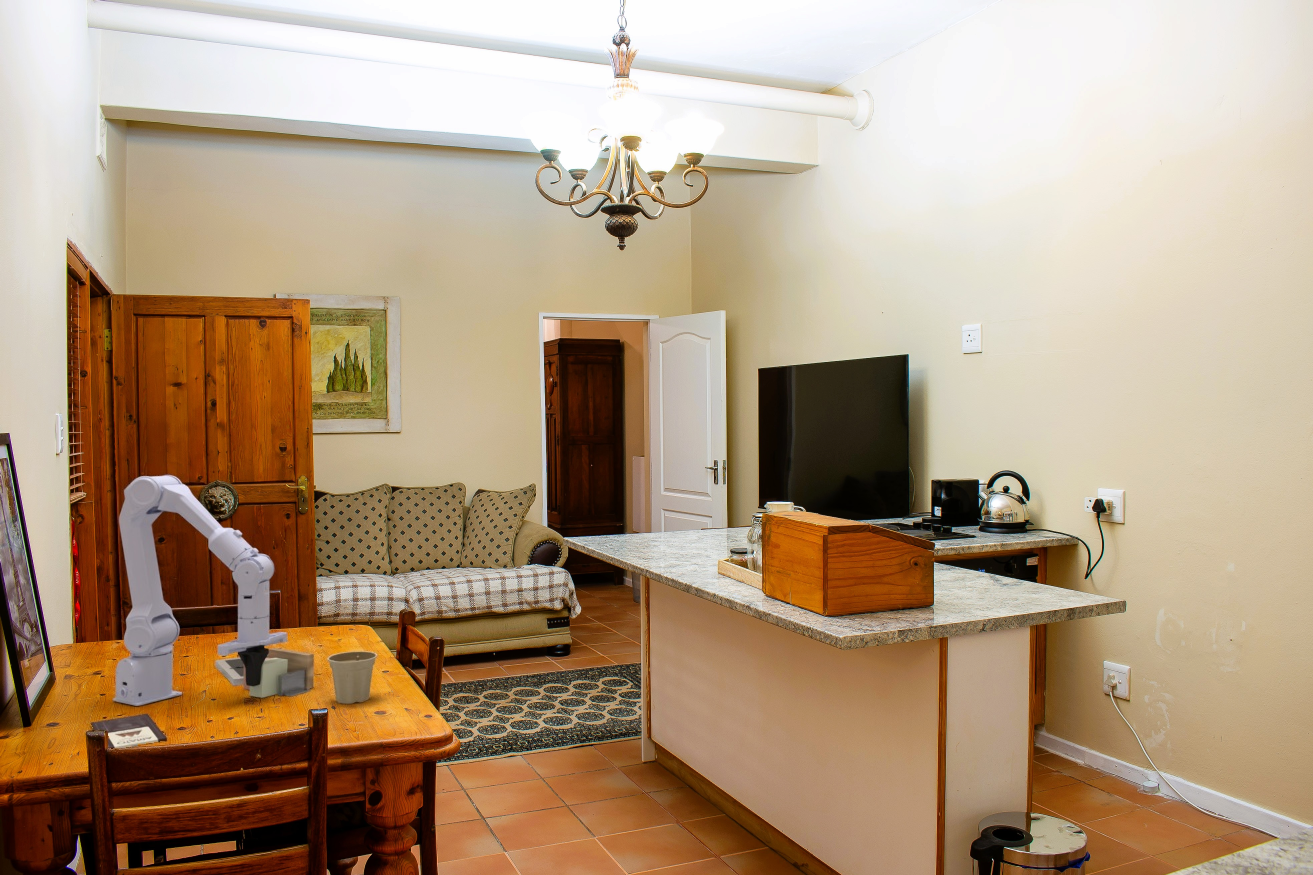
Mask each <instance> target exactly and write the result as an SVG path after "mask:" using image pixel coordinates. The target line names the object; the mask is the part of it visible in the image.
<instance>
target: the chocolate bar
mask: <svg viewBox="0 0 1313 875" xmlns="http://www.w3.org/2000/svg"><path fill="white" fill-rule="evenodd" d="M90 724H91V725H92V727H93V729H92V731H93V730H106V731H107V732H108V736H109V739H108V748H111V749H113V748H125V749H127V748H126V747H131V748H135V746H136V747H139V746H138V744H146V743H153V744H155V743H154V742H159V743H161V742H160V741H165V742H168V737H167V736H166V735H165V734H164V732H163V731H162V729H160V727H159V726H158V724H156V723H155V721H154V720H153V719H152V717H151V716H150V715H149V713H142V714H138V715H137V714H136V715H135V714H134V715H130V716H123V717H117V718H111V719H105V720H98V721H93V722H90ZM92 727H91V728H92ZM141 746H143V745H141ZM141 746H140V747H141Z"/></svg>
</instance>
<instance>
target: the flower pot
mask: <svg viewBox="0 0 1313 875" xmlns="http://www.w3.org/2000/svg"><path fill="white" fill-rule="evenodd" d="M377 657H378V654H377V653H376V652H372V651H368V650H367V651H366V650H359V651H358V650H356V651H355V650H354V651H346V652H344V651H343V652H339V653H335V654H331V655H329V656H327V658H326V660H327V662H329V667H330V668H331V672H332V673H331V674H332V680H333V687H334V688H333V689H334V694H335V701H336V702H337V703H338V704H342V705H345V704H347V705H352V704H354V703H362V702H363V703H364V702H366V701H368V700H369V699H370V694H371V693H370V692H371V687H372V686H371V685H372V678H373V669H374V665H375V664H376V659H377Z"/></svg>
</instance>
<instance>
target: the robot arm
mask: <svg viewBox="0 0 1313 875" xmlns="http://www.w3.org/2000/svg"><path fill="white" fill-rule="evenodd" d="M123 494H124V502H123V504H122V507H121V511H120V514H119V516H118V523H119V530H120V537H121V542H122V543H121V544H122V548H123V555H124V560H125V561H124V562H125V568H126V573H127V579H128V587H129V593H130V598H131V605H132V608H131V610H130V612H129V613H128V615H127V617H126V619H125V624H126V630H125V633H124V637H123V642H124V643H123V644H124V646H125V648H126V649H127V651H129V652H130V655H128V657H125V658H122V659H120V660H119V661H118V663H117V665H116V668H115V697H114V698H112V701H113V702H117V703H122V704H126V705H129V706H130V705H132V706H135V707H138V706H143V705H147V704H151V703H154V702H155V703H156V702H159V701H163V700H167V699H171V698H174V697H178V696H182V695H183V692H182V691H177V690H173V667H174V666H173V663H174V662H173V658H174V657H173V655H174V654H173V653H174V650H173V649H174V643H175V642H176V641H177V640H178V638H179V636H180V630H181V629H180V625H179V623H178V621H177V620H176V618H175V616H174V615H173V609H172V608H171V606H170V605H168V603H167V602H166V601H165V600H164V596H163V595H164V594H163V590H162V582H161V577H160V570H159V564H158V557H157V552H156V545H155V538H154V533H153V526H152V525H153V524H154V522H155V521H156V520H157V519H158V517H159V516H160V515H161V514H162V513H163V512H169V513H170V512H171V513H177V514H179V515H180V516H181V517H183V519H184V520H186V521H187V522H188V523H189V524H191V525H192V526H193V527H194V528H195V529H196V530H197V531H199V533H201V535H203V536H204V537H205V538H207V540H208V542H207V543H208V549H209V550H210V551H211V552H212V554H214V555H215V556H216V557H217V558H218V559H219V560H220V561H221V562H222V563H223V564H224V565H225V566H226V567H227V568H228V569H229V570H230V571H232V573H231V574H232V578H233V581H234V582H235V584H236V585H237V590H238V591H237V592H238V593H237V638H236V639H234V640H230V641H228V642H225V643H221V644H217V655H218V656H223V657H226V656H229V655H231V654H232V655H233V654H235V653H237V655H238V658H239V657H240V658H241V660H242V662H243V664H244V666H245V669H246V685H247V686H253V687H254V686H257V685H260V681H261V667H262V665H263V662H264V661H265V659H266V657H267V655H268V654H269V649H270V648H268V647H267V646H272V645H276V644H285V643H288V632H284V631H283V632H282V631H278V632H272V633H270V579H271V578H272V577H273V575H274V573H275V564H274V562H273V560H272V559H271V558H270V556H269V555H267V554H264V553H259V552H260V551H259V550H258V549H257V548H256V547H252V545H250V543H249V542H247V541H246V540H245V539H244V537H242V535H243V533H242V532H241V531H240V530H239V529H236V530H235V529H234V528H232V527H223V526H222V525H221V524H220V523H219V521H217V520H216V519H215V518H214V517H213V515H211V513H210V512H209V510H207V509H206V508H205V506H203V504H202V503H201V502H200V501H199V500H198V499H197V498H196V497H195V496H194V494H193V493H192V491H191V489H190V488H189V487H188V485H186V484H184V483H182V481H181V479H179V478H178V477H177V476H174V475H171V474H164V475H159V476H158V475H156V476H147V475H143V476H139V477H137V478H135V479H134V480H132V481H131V482H130V484H128V485H127V486H126V488H124V489H123Z"/></svg>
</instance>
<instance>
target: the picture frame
mask: <svg viewBox="0 0 1313 875" xmlns="http://www.w3.org/2000/svg"><path fill="white" fill-rule="evenodd" d="M266 658H268V655H267V657H266ZM214 661H215V663H214V666H215V668H216V669H217V670H218V671H219V672H220V673H221V675H223V677H225V679H226V678H227V679H228V680H229V681H230V682H229V681H228V680H227V679H226V680H227V681H228V682H229V683H230V684H231V685H232V686H233V687H238V686H243V674H244V664H243V662H242V660H241V658H240V657H239V656H238V657H233V658H232V657H231V658H225V659H223V658H221V659H216V660H214Z"/></svg>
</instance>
